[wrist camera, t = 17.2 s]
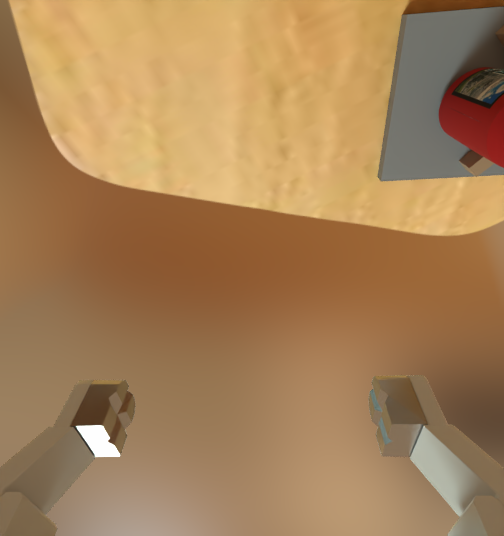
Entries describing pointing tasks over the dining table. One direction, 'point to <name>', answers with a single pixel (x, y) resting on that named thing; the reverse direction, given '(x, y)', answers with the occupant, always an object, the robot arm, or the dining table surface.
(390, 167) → the v stop plate
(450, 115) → the beverage can
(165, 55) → the dining table surface
